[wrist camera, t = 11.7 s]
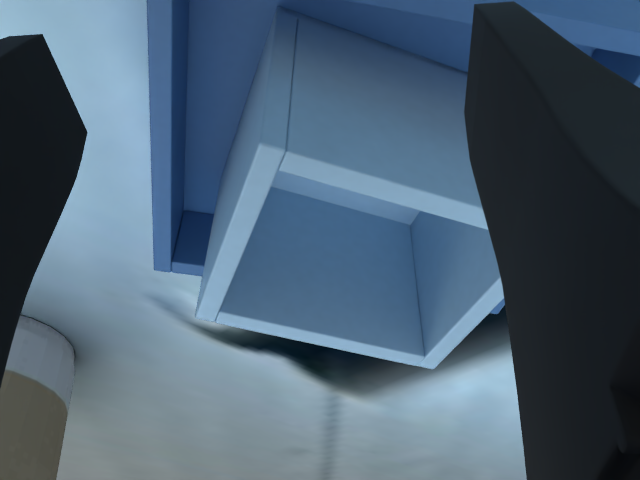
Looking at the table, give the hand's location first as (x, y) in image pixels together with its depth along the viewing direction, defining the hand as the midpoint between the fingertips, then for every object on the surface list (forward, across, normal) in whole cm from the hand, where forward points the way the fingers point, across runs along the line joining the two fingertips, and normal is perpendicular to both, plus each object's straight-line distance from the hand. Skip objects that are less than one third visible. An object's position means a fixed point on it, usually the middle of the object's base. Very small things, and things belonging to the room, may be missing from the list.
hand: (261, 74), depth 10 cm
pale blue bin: (+10, -1, +9) cm, 13 cm away
